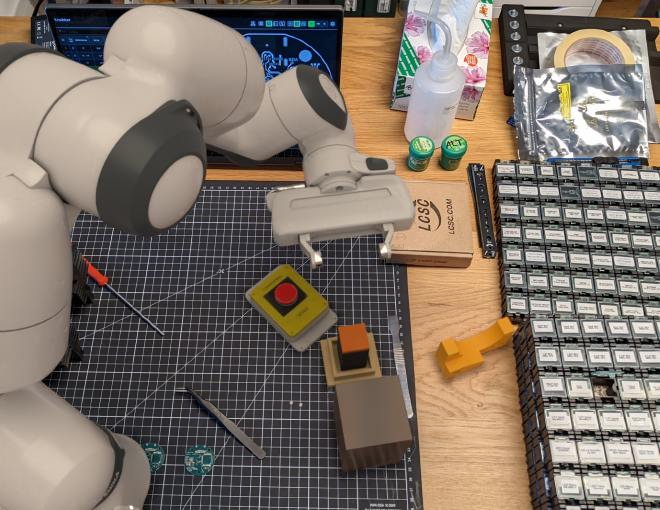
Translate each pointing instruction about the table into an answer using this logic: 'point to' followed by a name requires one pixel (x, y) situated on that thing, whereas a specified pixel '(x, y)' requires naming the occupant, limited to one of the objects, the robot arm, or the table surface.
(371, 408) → the stand
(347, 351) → the orange and black block
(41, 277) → the robot arm
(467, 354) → the orange curved piece
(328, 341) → the base pad
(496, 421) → the table surface
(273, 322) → the emergency button
